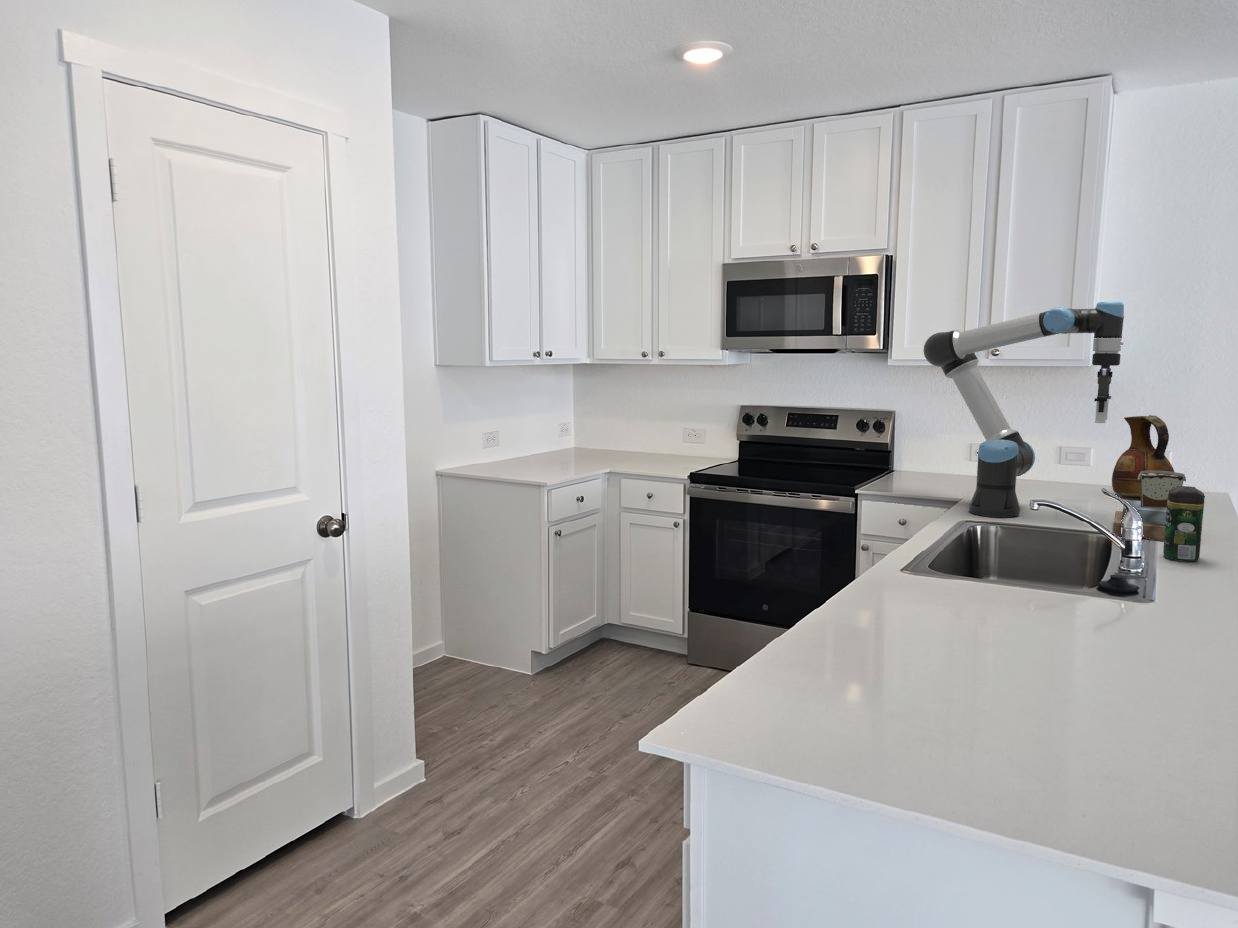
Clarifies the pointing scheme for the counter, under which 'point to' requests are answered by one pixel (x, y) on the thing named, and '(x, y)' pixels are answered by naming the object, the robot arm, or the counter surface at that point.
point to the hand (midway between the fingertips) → (1101, 421)
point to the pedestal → (1144, 520)
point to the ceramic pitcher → (1141, 455)
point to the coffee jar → (1183, 523)
